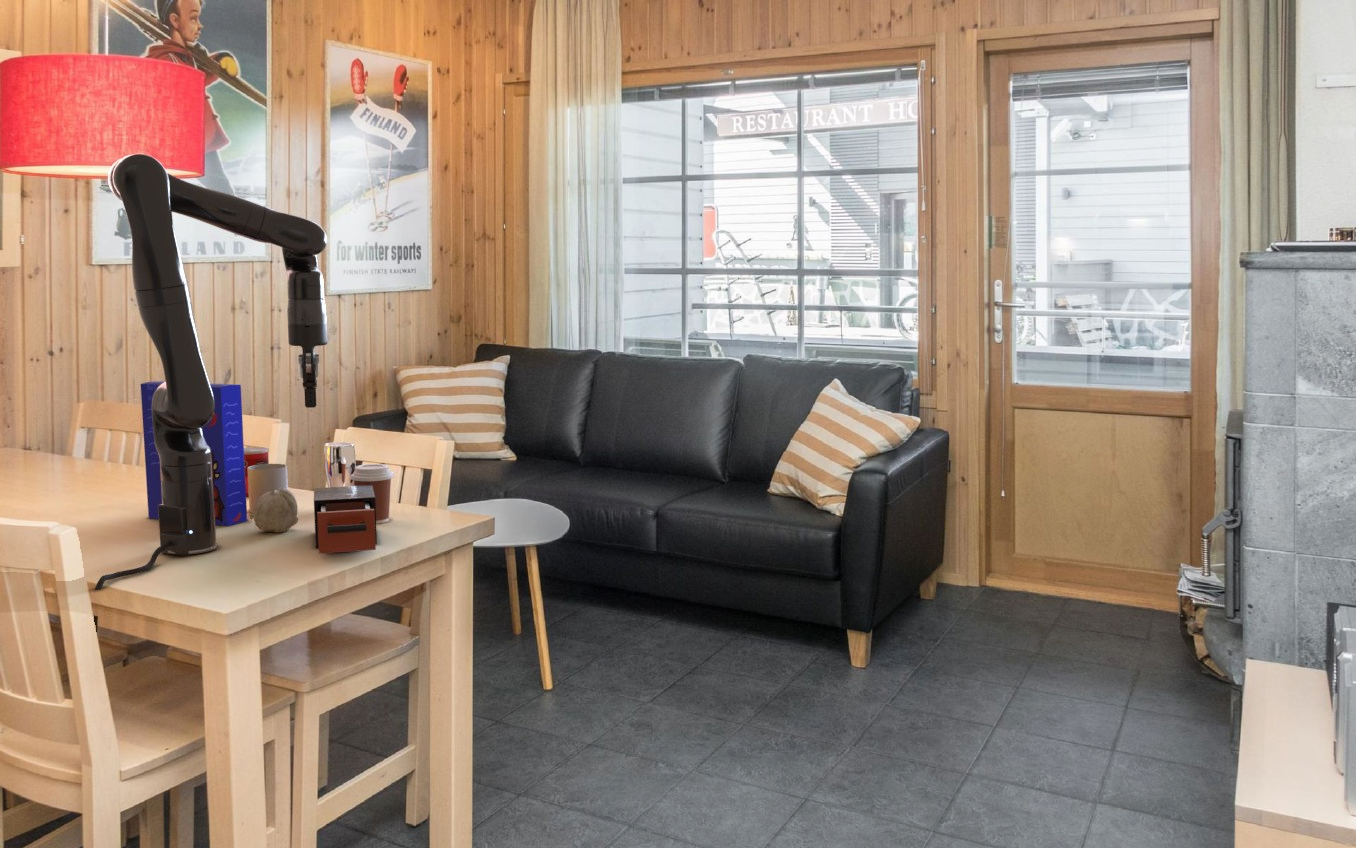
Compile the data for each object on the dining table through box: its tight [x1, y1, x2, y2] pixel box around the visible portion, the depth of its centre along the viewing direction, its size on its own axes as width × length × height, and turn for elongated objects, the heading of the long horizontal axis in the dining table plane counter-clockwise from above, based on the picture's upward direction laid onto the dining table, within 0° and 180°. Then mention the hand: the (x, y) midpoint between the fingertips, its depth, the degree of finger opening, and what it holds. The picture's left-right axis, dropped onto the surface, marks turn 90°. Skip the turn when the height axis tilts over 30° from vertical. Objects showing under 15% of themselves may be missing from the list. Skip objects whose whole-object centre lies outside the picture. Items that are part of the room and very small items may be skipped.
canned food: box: [244, 446, 270, 497], centre depth 276 cm, size 8×8×11 cm
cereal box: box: [140, 380, 248, 527], centre depth 246 cm, size 22×6×30 cm, turn 70°
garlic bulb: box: [247, 488, 299, 534], centre depth 236 cm, size 9×8×10 cm
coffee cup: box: [351, 463, 395, 525], centre depth 246 cm, size 9×9×12 cm
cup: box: [247, 463, 289, 514], centre depth 257 cm, size 8×8×10 cm
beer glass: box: [323, 441, 357, 487], centre depth 258 cm, size 7×7×15 cm
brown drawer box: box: [317, 501, 377, 554], centre depth 219 cm, size 17×10×8 cm, turn 18°
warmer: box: [313, 485, 378, 550], centre depth 229 cm, size 14×12×10 cm
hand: (310, 407), depth 230 cm, fingers closed
